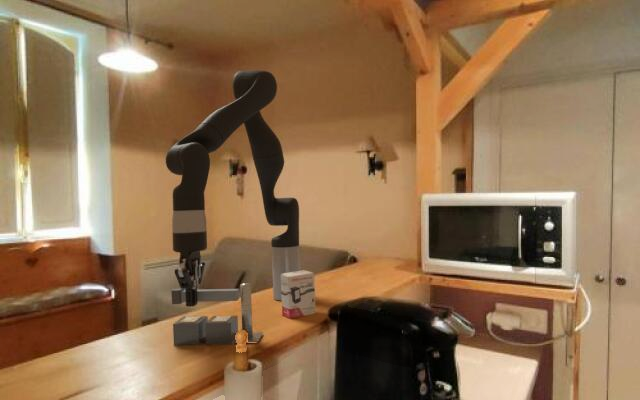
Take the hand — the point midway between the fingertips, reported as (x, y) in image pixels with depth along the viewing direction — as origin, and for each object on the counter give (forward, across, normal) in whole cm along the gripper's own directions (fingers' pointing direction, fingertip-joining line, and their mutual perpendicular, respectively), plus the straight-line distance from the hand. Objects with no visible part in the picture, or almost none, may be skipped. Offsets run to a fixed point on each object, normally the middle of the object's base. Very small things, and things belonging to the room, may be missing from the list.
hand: (191, 305), depth 93 cm
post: (+9, +3, -12) cm, 15 cm away
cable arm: (0, +3, -2) cm, 4 cm away
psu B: (+9, +3, +2) cm, 10 cm away
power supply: (+9, +3, -6) cm, 11 cm away
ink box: (+9, +23, -22) cm, 33 cm away
